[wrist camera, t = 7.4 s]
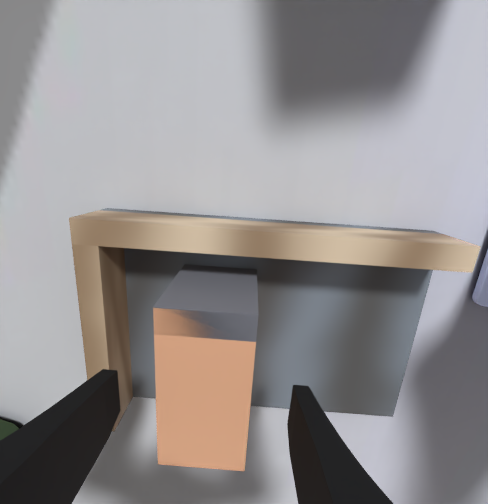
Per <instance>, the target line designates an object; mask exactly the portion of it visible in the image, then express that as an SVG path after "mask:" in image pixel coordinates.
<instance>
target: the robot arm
mask: <svg viewBox="0 0 488 504" xmlns="http://www.w3.org/2000/svg"><path fill="white" fill-rule="evenodd" d="M472 299H473V301H474V302H475V303H477V304H478V305H480V306H487V307H488V250H487V253H486V256H485V259H484V262H483V265H482V268H481V271H480V274H479V277H478V280H477V283H476V287H475V290H474V293H473V297H472ZM120 410H121V409H120V396H119V383H118V371H117V370H107V369H102V370H101V371H100V372H98V373H97V374H95V375H94V376H93V377H91V378H90V379H89V380H87V381H86V382H85V383H83V384H82V385H81V386H79V387H78V388H77V389H75V390H74V391H73V392H71V393H70V394H68V395H67V396H66V397H64V398H63V399H62V400H60V401H59V402H57V403H56V404H55V405H53V406H52V407H50V408H49V409H48V410H46V411H45V412H43V413H42V414H40V415H39V416H37V417H36V418H34V419H33V420H31V421H30V422H28V423H27V424H25V425H24V426H22V427H21V428H19V429H18V430H16V431H15V432H13V433H12V434H10V435H8V436H7V437H5V438H4V439H2V440H0V504H72V502H73V500H74V498H75V496H76V495H77V493H78V491H79V489H80V488H81V486H82V484H83V482H84V481H85V479H86V477H87V475H88V474H89V472H90V470H91V468H92V467H93V465H94V463H95V461H96V460H97V458H98V456H99V454H100V452H101V451H102V449H103V447H104V445H105V444H106V442H107V440H108V438H109V436H110V434H111V432H112V429H113V427H114V425H115V422H116V420H117V418H118V415H119V413H120ZM288 438H289V451H290V458H291V464H292V469H293V475H294V481H295V487H296V492H297V498H298V504H393V503H392V502H391V500H390V499H389V498H388V497H387V496H386V495H385V494H384V493H383V491H382V490H381V489H380V488H379V487H378V486H377V484H376V483H375V482H374V481H373V480H372V478H371V477H370V476H369V475H368V474H367V472H366V471H365V470H364V468H363V467H362V466H361V465H360V463H359V462H358V461H357V459H356V458H355V457H354V455H353V454H352V453H351V451H350V450H349V449H348V447H347V446H346V444H345V443H344V442H343V440H342V439H341V437H340V436H339V434H338V433H337V431H336V430H335V428H334V427H333V425H332V424H331V422H330V421H329V419H328V418H327V416H326V414H325V413H324V411H323V409H322V408H321V406H320V405H319V403H318V401H317V399H316V398H315V396H314V394H313V392H312V391H311V389H310V387H309V386H303V385H293V388H292V396H291V403H290V410H289V417H288Z"/></svg>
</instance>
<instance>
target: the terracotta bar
mask: <svg viewBox="0 0 488 504" xmlns="http://www.w3.org/2000/svg"><path fill="white" fill-rule="evenodd" d="M258 315H259V314H258V288H257V269H244V268H230V267H216V266H202V265H189V264H184V266H183V267H182V268H181V270H180V271H179V272H178V274H177V275H176V276H175V278H174V279H173V280H172V282H171V283H170V285H169V286H168V287H167V289H166V290H165V291H164V293H163V294H162V295H161V297H160V298H159V299H158V301H157V302H156V303H155V305H154V306H153V319H154V352H155V385H156V418H157V451H158V464H160V465H173V466H185V467H197V468H210V469H222V470H235V471H245V461H246V449H247V438H248V427H249V416H250V404H251V393H252V382H253V371H254V360H255V348H256V337H257V326H258Z"/></svg>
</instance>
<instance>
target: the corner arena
mask: <svg viewBox="0 0 488 504" xmlns="http://www.w3.org/2000/svg"><path fill="white" fill-rule="evenodd" d="M69 222H70V231H71V240H72V249H73V257H74V266H75V275H76V284H77V292H78V301H79V310H80V318H81V327H82V336H83V345H84V353H85V362H86V371H87V380H89V379H90V378H91V377H93V376H94V375H95V374H97V373H98V372H100V371H101V370H102V369H107V370H117V371H118V383H119V396H120V409H121V410H120V413H119V415H118V418H117V420H116V422H115V425H114V427H113V429H112V431H115V429H116V427H117V425H118V424H119V422H120V420H121V418H122V416H123V414H124V412H125V410H126V409H127V407H128V405H129V403H130V401H131V399H132V397H145V398H156V385H155V352H154V319H153V306H154V305H155V303H156V302H157V301H158V299H159V298H160V297H161V295H162V294H163V293H164V291H165V290H166V289H167V287H168V286H169V285H170V283H171V282H172V280H173V279H174V278H175V276H176V275H177V274H178V272H179V271H180V270H181V268H182V267H183V266H184V264H189V265H202V266H216V267H230V268H244V269H257V288H258V314H259V315H258V326H257V337H256V348H255V360H254V371H253V382H252V393H251V404H250V406H262V407H275V408H288V409H290V403H291V396H292V388H293V385H303V386H309V387H310V389H311V391H312V392H313V394H314V396H315V398H316V399H317V401H318V403H319V405H320V406H321V408H322V409H323V411H327V412H340V413H353V414H366V415H379V416H392V417H393V414H394V410H395V407H396V403H397V399H398V396H399V392H400V388H401V385H402V381H403V377H404V374H405V370H406V366H407V363H408V359H409V355H410V352H411V348H412V344H413V341H414V337H415V333H416V330H417V326H418V322H419V319H420V315H421V311H422V308H423V304H424V300H425V297H426V293H427V289H428V286H429V282H430V278H431V275H432V271H433V270H443V271H457V272H471V273H472V272H473V269H474V266H475V263H476V260H477V257H478V254H479V250H480V246H477V245H474V244H471V243H468V242H465V241H462V240H459V239H456V238H453V237H450V236H447V235H444V234H441V233H438V232H435V231H427V230H412V229H398V228H383V227H369V226H354V225H340V224H325V223H311V222H297V221H282V220H268V219H253V218H239V217H224V216H210V215H195V214H181V213H166V212H152V211H137V210H123V209H109V208H107V209H103V210H99V211H95V212H91V213H87V214H83V215H79V216H75V217H71V218H69Z"/></svg>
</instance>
